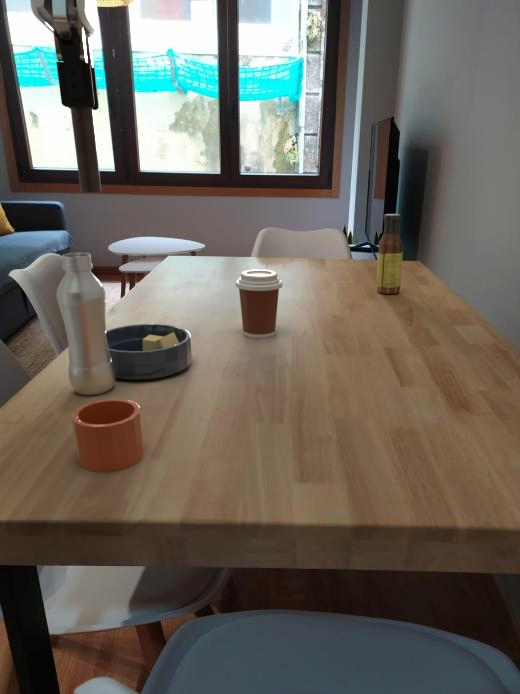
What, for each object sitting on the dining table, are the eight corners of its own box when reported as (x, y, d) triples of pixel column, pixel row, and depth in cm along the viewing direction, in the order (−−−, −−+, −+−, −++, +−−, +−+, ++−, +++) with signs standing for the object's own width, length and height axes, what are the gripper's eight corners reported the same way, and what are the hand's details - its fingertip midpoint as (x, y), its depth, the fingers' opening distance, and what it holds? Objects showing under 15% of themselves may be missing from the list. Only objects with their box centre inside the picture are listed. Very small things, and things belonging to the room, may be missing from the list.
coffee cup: (249, 342, 103) (248, 279, 98) (228, 329, 110) (227, 270, 106) (290, 335, 107) (291, 275, 103) (268, 324, 115) (268, 267, 110)
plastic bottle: (124, 384, 83) (110, 251, 75) (104, 402, 77) (86, 260, 69) (85, 381, 84) (67, 249, 76) (62, 399, 78) (39, 258, 70)
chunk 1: (142, 339, 92) (149, 334, 95) (142, 354, 93) (149, 349, 96) (157, 341, 92) (164, 336, 94) (158, 356, 93) (164, 351, 96)
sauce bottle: (404, 292, 144) (412, 214, 137) (391, 296, 140) (398, 216, 132) (383, 288, 148) (390, 212, 141) (370, 292, 144) (376, 214, 136)
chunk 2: (174, 332, 90) (169, 334, 93) (158, 339, 89) (155, 340, 92) (181, 347, 91) (177, 349, 93) (166, 354, 89) (162, 355, 92)
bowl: (92, 385, 82) (88, 354, 81) (103, 352, 96) (100, 325, 94) (193, 379, 85) (191, 349, 83) (190, 348, 99) (188, 322, 97)
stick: (79, 192, 60) (61, 44, 54) (82, 191, 62) (65, 48, 56) (100, 192, 60) (84, 45, 55) (102, 191, 62) (87, 49, 57)
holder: (74, 478, 59) (66, 429, 57) (84, 446, 65) (77, 400, 63) (142, 472, 60) (138, 424, 58) (145, 441, 67) (141, 396, 64)
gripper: (34, -83, 57) (59, 112, 64) (-17, -164, 43) (23, 100, 50) (108, -76, 58) (125, 114, 65) (83, -153, 44) (108, 103, 51)
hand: (80, 106), depth 57 cm, fingers closed on stick, 2 cm apart
